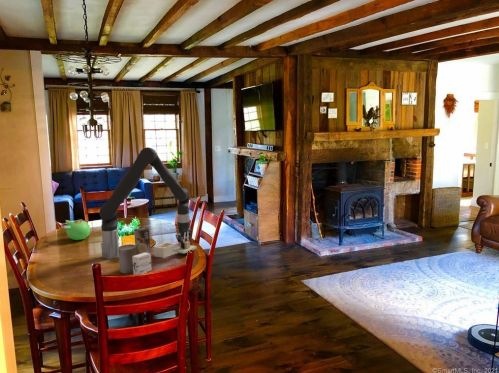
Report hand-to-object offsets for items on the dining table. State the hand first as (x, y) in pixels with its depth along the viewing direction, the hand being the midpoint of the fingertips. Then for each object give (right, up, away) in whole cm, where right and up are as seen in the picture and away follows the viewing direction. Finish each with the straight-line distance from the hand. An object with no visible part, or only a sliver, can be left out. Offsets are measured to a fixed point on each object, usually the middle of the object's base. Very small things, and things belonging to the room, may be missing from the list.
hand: (184, 247), depth 247 cm
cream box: (-12, -4, 0) cm, 13 cm away
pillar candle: (-27, -9, -27) cm, 39 cm away
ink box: (-17, -10, -36) cm, 41 cm away
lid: (0, -1, 0) cm, 1 cm away
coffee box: (-26, -5, +2) cm, 27 cm away
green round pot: (-83, 0, +39) cm, 92 cm away
